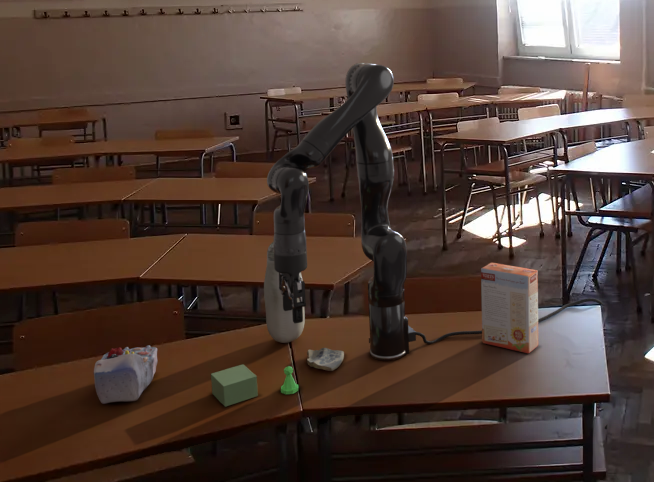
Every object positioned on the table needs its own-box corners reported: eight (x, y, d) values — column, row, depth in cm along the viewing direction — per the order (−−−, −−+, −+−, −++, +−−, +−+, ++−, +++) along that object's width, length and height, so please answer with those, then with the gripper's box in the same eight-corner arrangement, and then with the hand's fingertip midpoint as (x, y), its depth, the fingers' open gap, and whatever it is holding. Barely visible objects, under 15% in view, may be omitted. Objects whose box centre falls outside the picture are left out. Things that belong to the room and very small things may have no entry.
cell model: (87, 366, 186) (101, 333, 205) (91, 412, 188) (105, 374, 207) (148, 358, 189) (156, 326, 208) (152, 403, 191) (160, 367, 210)
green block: (244, 383, 200) (243, 364, 199) (258, 396, 193) (256, 376, 193) (212, 393, 195) (210, 373, 194) (225, 406, 189) (223, 386, 188)
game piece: (301, 391, 195) (300, 367, 194) (284, 396, 193) (282, 372, 192) (295, 384, 199) (293, 360, 198) (278, 388, 197) (276, 365, 196)
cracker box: (539, 346, 217) (538, 269, 213) (528, 354, 212) (528, 276, 208) (492, 335, 224) (491, 260, 221) (481, 343, 219) (480, 267, 216)
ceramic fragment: (309, 346, 216) (345, 343, 213) (311, 358, 216) (347, 355, 214) (293, 365, 205) (331, 362, 203) (296, 376, 206) (334, 374, 203)
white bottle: (272, 332, 229) (266, 235, 224) (309, 332, 229) (304, 234, 224) (263, 348, 219) (256, 246, 215) (301, 348, 219) (295, 245, 214)
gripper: (315, 255, 188) (317, 323, 190) (297, 239, 201) (300, 303, 203) (282, 260, 185) (285, 329, 187) (266, 243, 197) (269, 308, 200)
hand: (292, 316), depth 195 cm, fingers open, 8 cm apart
